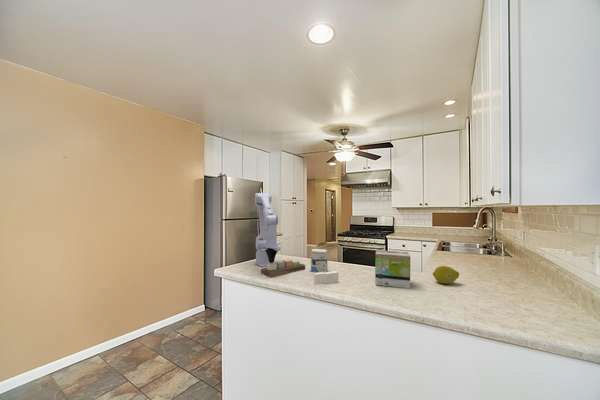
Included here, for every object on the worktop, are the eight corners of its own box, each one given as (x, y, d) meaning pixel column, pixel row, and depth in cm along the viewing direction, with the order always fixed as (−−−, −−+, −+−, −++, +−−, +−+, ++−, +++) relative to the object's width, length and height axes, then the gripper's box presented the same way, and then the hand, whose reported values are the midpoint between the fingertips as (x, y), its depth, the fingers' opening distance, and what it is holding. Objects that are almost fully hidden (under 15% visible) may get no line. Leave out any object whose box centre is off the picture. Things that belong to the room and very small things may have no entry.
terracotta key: (282, 265, 142) (282, 260, 142) (288, 264, 144) (288, 259, 144) (286, 267, 138) (286, 261, 138) (292, 265, 141) (292, 260, 141)
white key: (266, 269, 135) (266, 263, 135) (272, 267, 138) (272, 262, 137) (270, 270, 132) (270, 265, 132) (276, 269, 134) (276, 263, 134)
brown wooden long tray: (261, 273, 136) (260, 268, 136) (294, 265, 151) (294, 261, 151) (270, 277, 129) (270, 272, 128) (305, 269, 143) (305, 264, 143)
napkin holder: (342, 281, 123) (342, 269, 123) (338, 289, 112) (338, 276, 112) (312, 278, 128) (312, 267, 128) (306, 286, 117) (306, 273, 117)
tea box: (375, 285, 115) (374, 253, 115) (375, 279, 125) (375, 249, 124) (410, 289, 110) (410, 255, 110) (408, 281, 120) (407, 250, 120)
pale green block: (289, 266, 145) (289, 261, 145) (295, 265, 147) (295, 260, 147) (294, 267, 142) (293, 262, 142) (299, 266, 144) (299, 261, 144)
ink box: (310, 271, 138) (310, 250, 138) (312, 269, 142) (312, 248, 142) (326, 273, 135) (325, 251, 135) (327, 270, 140) (327, 249, 140)
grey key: (274, 267, 138) (274, 261, 138) (280, 266, 141) (280, 260, 141) (278, 268, 135) (278, 263, 135) (284, 267, 138) (284, 262, 138)
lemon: (432, 284, 116) (432, 267, 116) (432, 279, 123) (432, 263, 123) (460, 288, 111) (460, 270, 111) (458, 282, 118) (458, 265, 118)
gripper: (285, 238, 131) (285, 263, 131) (270, 235, 143) (270, 258, 143) (273, 239, 127) (274, 266, 127) (259, 236, 138) (259, 260, 138)
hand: (271, 262), depth 135 cm, fingers closed
